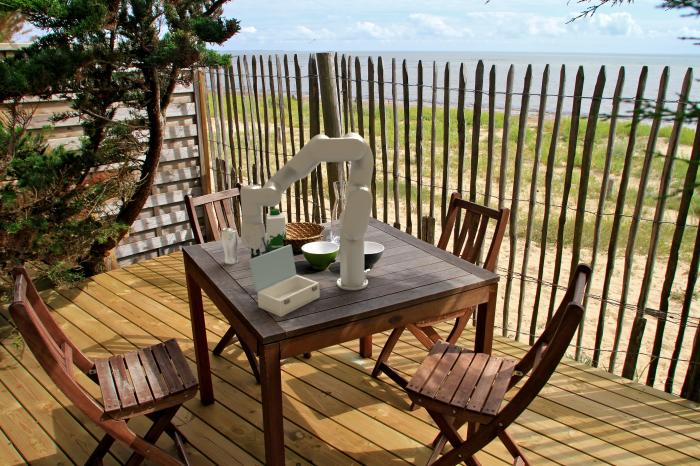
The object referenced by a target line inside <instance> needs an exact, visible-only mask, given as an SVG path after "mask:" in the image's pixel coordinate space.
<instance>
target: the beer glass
mask: <svg viewBox="0 0 700 466" xmlns="http://www.w3.org/2000/svg"><path fill="white" fill-rule="evenodd" d="M220 232H221V235H220V236H221V244H222V248H223V251H224V264H226V265H235V264H238V263H239V257H238V246H239V237H238V231H237V229H236V228H235V227H225V228H223V229H222V230H221V231H220Z"/></svg>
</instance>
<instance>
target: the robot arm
mask: <svg viewBox="0 0 700 466" xmlns="http://www.w3.org/2000/svg"><path fill="white" fill-rule="evenodd" d="M337 162H338V163H344V162H350V167H349V168H350V169H349V175H348V180H347V185H346V187H345V188H346V189H345V200H346V204H345V208H344V209H343V210H342V211H341V212H340V215H339V218H338V226H339V229H338V230H339V234H340V242H339V261H340V264H339V265H340V266H339V269H340V270H339V271H340V277H339V278H338V279H337V280H336V285H337V288H340V289H342V290H347V291H359V290H362V289H365V288H366V287H368V286H369V280H368V279H367V278H366V277H367V275H369V274H371V273H372V270H371V269H370V268H368V269H365V234H366V233H367V231H368V227H369V225H370V224H369V223H370V218H371V212H372V209H373V202H374V201H373V199H374V198H373V193H372V192H371V183H372V178H373V172H374V164H375V163H374V155H373V151H372V148H371V147H370V145H369V143H368V142H367V140H366V139H365V138H363V137H362V135H360V134H359V133H356V132H348V133H346V134H344V135H343V137H329V136H328V135H325V134H322V133H321V134H320V133H318V134H317V135H314V136H313V137H312V138H311V139H310V140H309V141H308V142H307V143H306V144H304V145H303V147H302V148H301V149H299V150H298V151H297V153H295V155H293V157H291V158H290V160H288V161H287V162H286V163H285V164H284V165H283V166H282V167H281V168H280V169H278V170H277V171H276V172H275V173H274V174H273V175H272V176H271V177H270V178H269V179H267V181H266V182H265V183H264V185H263V186H262V187H260V186H259V185H257V184H246V185H243V186H242V187H241V188H240V202H241V215H242V217H241V218H242V220H241V224H240V225H241V226H240V240H241V244H242V245H243V246H245V248H248V250H249V251H248V252H249V254H250V259H252V258H255V257H258V256H260V255H261V254H262V253H263V252H265V251H266V247H267V232H266V227H265V224H264V218H263V217H264V216H263V207H270V208H271V207H276V206H277V205H279V204H280V203H281V201H282V199H283V198H282V195H283V194H284V193H285V192H286V191H287V189H289V188H290V187H291V186H292V185H293V184H294V183H296V182H297V181H299V180H303V179H305V178H306V177H308V175H310V174H311V173H312V172H313V171H314V170H315V169H316V168H317V167H318V166H319V164H321V163H337Z"/></svg>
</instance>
